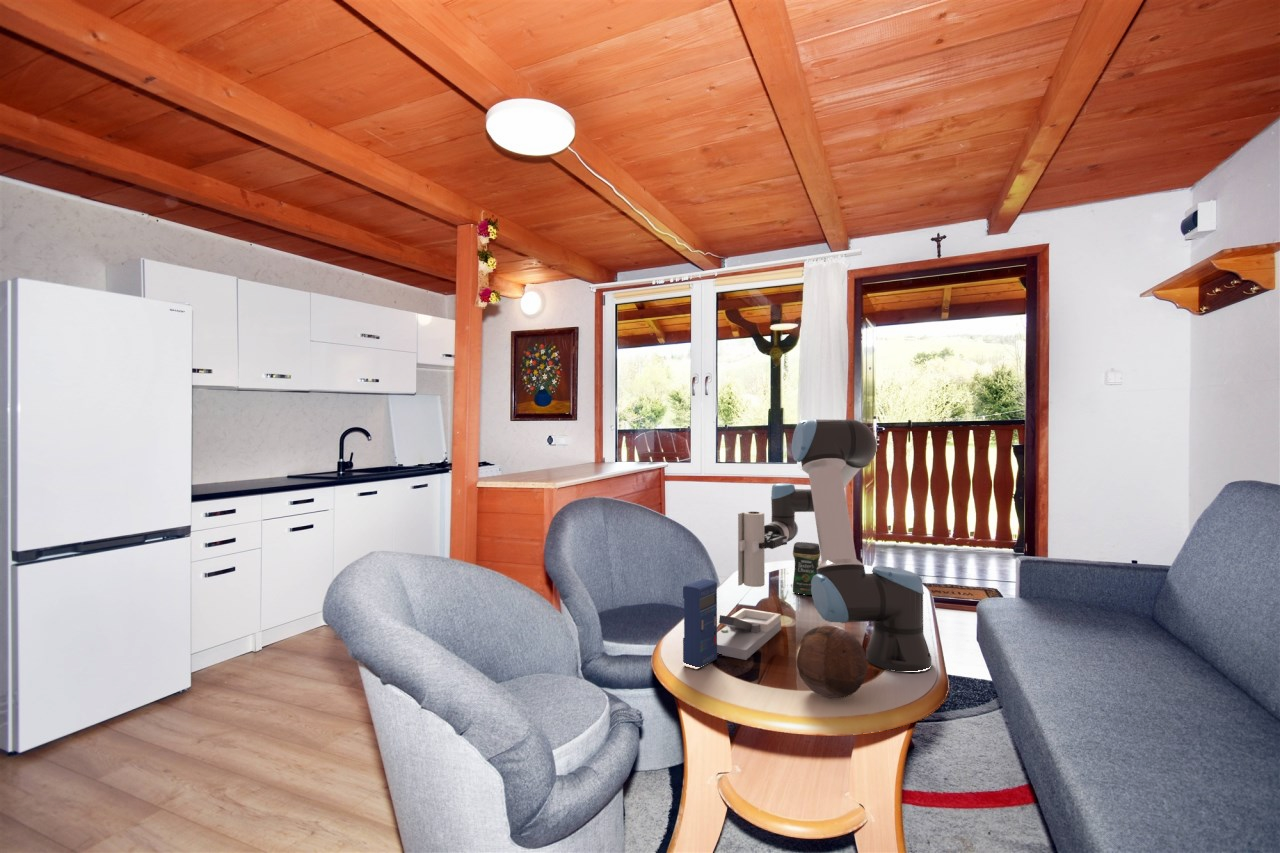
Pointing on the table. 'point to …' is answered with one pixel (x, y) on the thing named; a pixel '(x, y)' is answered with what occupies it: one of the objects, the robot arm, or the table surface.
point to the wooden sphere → (831, 661)
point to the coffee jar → (805, 566)
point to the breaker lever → (735, 623)
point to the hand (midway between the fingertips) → (747, 546)
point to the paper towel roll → (748, 560)
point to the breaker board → (748, 633)
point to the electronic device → (700, 622)
